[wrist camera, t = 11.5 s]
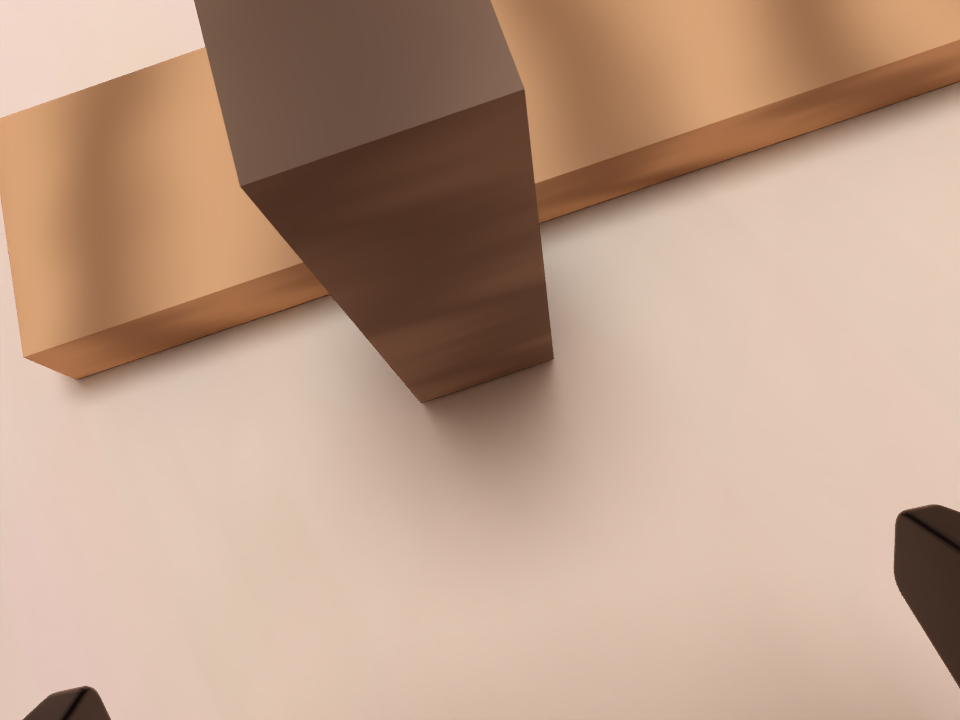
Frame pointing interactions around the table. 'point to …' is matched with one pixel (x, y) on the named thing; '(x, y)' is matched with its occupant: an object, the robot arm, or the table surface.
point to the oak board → (553, 136)
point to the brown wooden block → (393, 172)
